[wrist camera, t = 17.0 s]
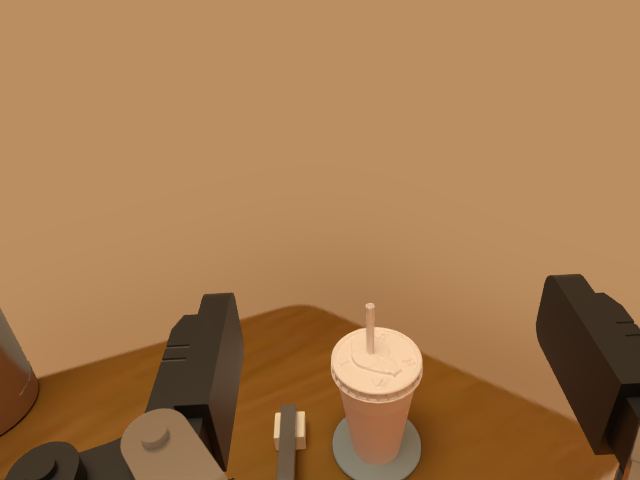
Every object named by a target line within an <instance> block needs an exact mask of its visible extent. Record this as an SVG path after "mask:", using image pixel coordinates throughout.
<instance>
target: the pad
mask: <svg viewBox="0 0 640 480" xmlns="http://www.w3.org/2000/svg"><path fill="white" fill-rule="evenodd" d="M333 454H334V458H335V460H336V462H337V464H338V466H339V468H340V469H341V470H342V471H343V473H345V474H346V475H347V476H348V477H349V478H351V479H352V480H405V479H406V478H407V477H409V476H410V475H411V474H412V473H413V471H414V470H415V469H416V467H417V465H418V463H419V460H420V455H421V441H420V437H419V434H418V432H417V430H416V428H415V427H414V425H413V424H412V423H411V422H410V421H409V420H408V419H407V421H406V425H405V429H404V433H403V437H402V441H401V445H400V449H399V453H398V455H397V456H396V458H395V459H394V460H392V461H391V462H389V463H387V464H384V465H371V464H368V463H365V462H364V461H362V460H361V459H360V458H359V457H358V456H357V455H356V453H355V451H354V448H353V444H352V440H351V435H350V431H349V427H348V423H347V419H346V417H345V418H344V419H343V420H342V421H341V422H340V423H339V425H338V426H337V428H336V430H335V433H334V436H333Z"/></svg>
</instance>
